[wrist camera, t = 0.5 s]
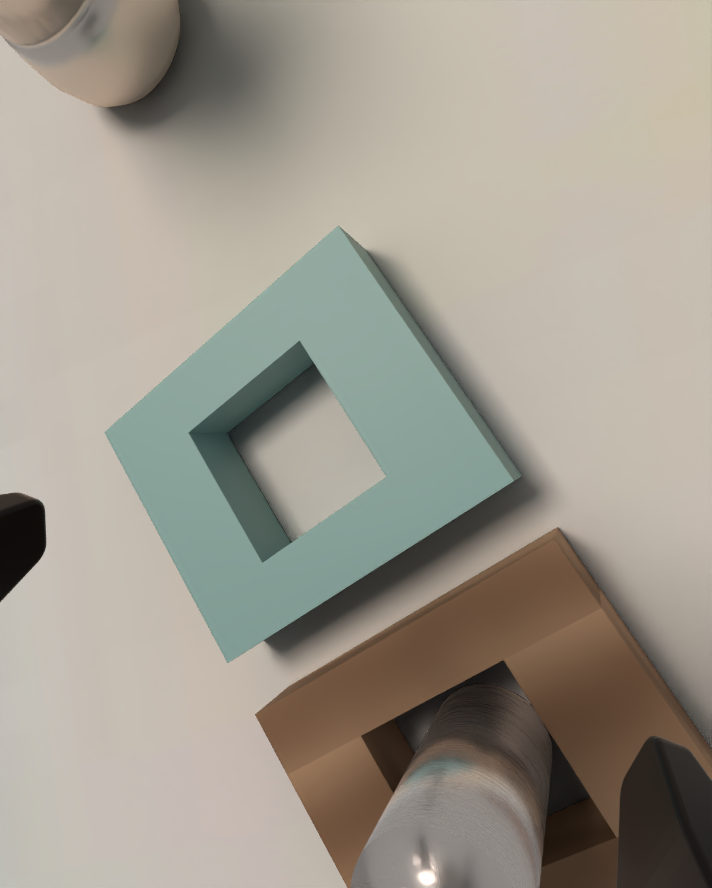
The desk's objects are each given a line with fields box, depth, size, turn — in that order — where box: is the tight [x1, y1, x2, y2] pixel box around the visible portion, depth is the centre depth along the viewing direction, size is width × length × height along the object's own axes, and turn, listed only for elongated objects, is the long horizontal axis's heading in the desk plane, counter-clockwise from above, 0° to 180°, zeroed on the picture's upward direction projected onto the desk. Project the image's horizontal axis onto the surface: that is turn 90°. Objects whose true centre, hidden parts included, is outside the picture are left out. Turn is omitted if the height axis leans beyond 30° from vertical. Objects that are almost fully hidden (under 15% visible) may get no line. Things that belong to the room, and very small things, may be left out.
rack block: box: [105, 226, 522, 663], centre depth 21 cm, size 10×12×2 cm
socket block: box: [255, 527, 712, 888], centre depth 19 cm, size 10×12×2 cm
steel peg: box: [350, 684, 552, 888], centre depth 16 cm, size 4×4×8 cm
